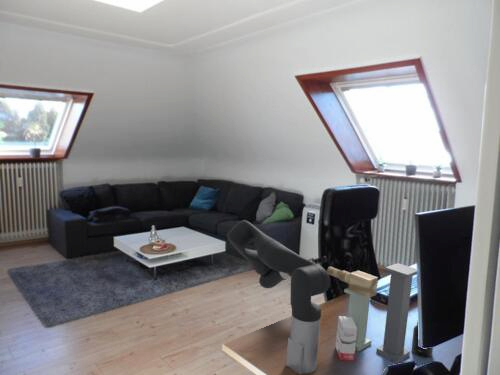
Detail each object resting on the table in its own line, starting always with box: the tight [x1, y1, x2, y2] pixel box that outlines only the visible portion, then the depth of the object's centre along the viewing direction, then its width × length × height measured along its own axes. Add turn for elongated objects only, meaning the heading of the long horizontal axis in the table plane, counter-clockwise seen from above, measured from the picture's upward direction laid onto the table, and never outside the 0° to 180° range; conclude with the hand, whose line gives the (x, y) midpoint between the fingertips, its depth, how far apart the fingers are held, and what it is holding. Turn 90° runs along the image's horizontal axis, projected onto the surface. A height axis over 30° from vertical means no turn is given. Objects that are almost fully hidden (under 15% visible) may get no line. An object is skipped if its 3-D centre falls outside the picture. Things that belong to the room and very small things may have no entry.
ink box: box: [335, 315, 357, 362], centre depth 134 cm, size 8×5×12 cm, turn 178°
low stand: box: [343, 287, 377, 352], centre depth 141 cm, size 8×8×20 cm
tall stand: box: [376, 262, 418, 364], centre depth 134 cm, size 8×8×31 cm
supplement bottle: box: [411, 321, 434, 358], centre depth 137 cm, size 7×7×12 cm
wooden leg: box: [326, 266, 379, 298], centre depth 142 cm, size 5×19×6 cm, turn 40°
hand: (319, 260), depth 153 cm, fingers open, 8 cm apart
